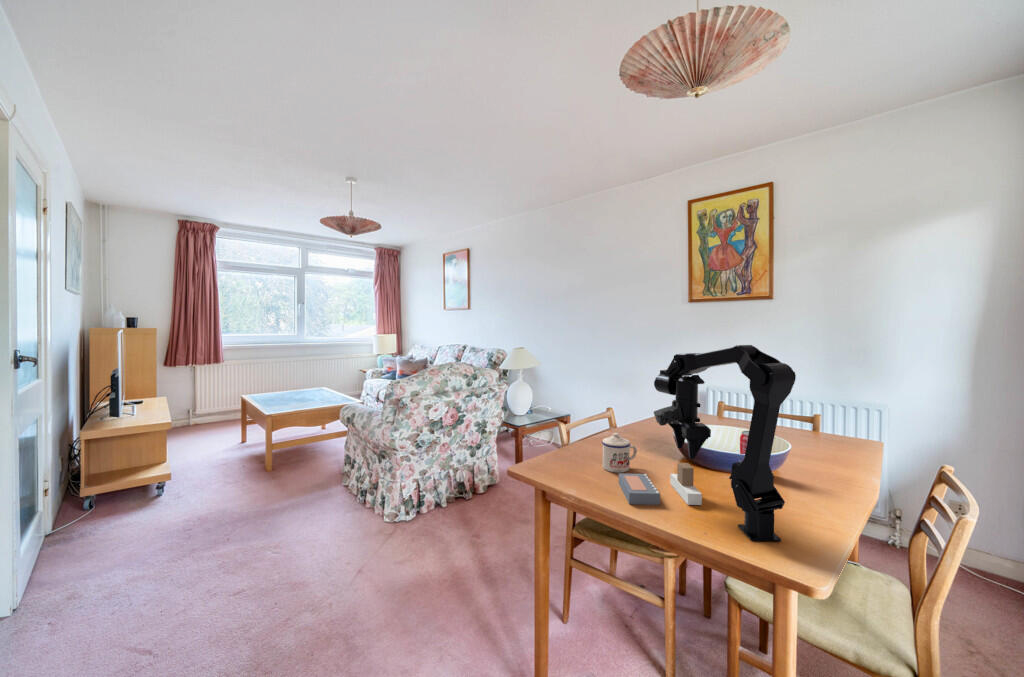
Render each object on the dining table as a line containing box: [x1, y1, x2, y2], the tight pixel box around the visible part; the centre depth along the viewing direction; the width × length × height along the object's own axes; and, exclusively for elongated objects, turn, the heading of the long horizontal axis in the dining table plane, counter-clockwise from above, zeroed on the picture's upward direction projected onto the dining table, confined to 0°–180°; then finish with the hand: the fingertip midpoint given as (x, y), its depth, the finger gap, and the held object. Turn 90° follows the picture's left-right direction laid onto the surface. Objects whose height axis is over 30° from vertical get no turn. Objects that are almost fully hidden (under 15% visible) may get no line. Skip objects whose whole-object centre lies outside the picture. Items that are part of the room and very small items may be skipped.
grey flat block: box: [618, 472, 661, 506], centre depth 115 cm, size 14×8×3 cm, turn 177°
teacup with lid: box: [601, 432, 638, 474], centre depth 135 cm, size 12×9×12 cm
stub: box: [669, 462, 703, 506], centre depth 114 cm, size 14×4×8 cm, turn 177°
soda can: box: [739, 430, 749, 455], centre depth 129 cm, size 7×7×13 cm
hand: (685, 453), depth 114 cm, fingers open, 9 cm apart
